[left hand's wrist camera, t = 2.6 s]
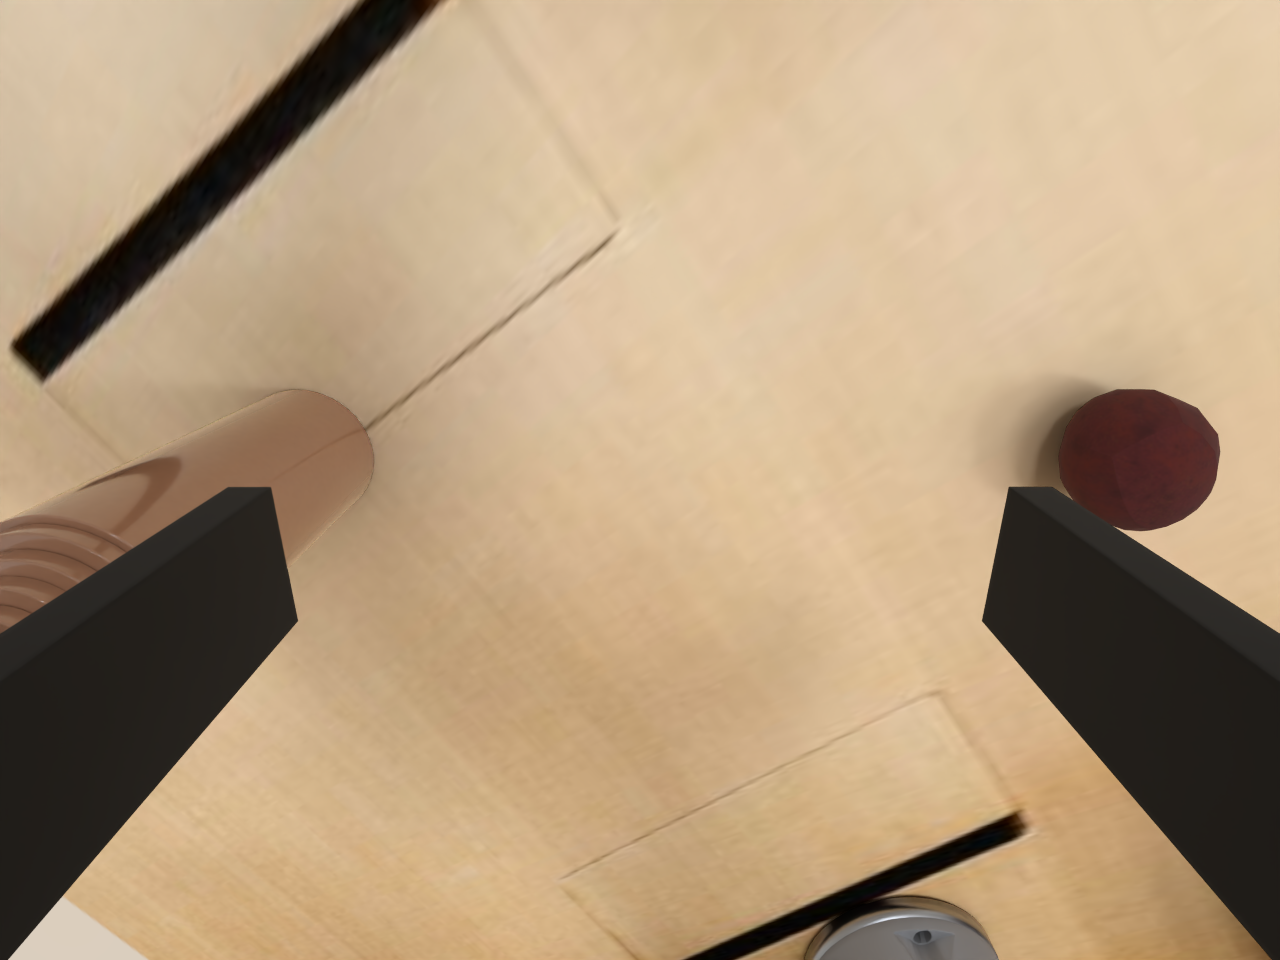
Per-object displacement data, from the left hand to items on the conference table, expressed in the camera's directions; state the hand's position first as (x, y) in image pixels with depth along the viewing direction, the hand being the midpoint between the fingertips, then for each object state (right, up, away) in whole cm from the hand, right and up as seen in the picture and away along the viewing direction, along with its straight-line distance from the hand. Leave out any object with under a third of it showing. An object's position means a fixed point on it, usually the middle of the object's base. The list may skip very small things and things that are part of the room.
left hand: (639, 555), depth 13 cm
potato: (+27, +4, +28) cm, 39 cm away
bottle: (-20, +3, +29) cm, 35 cm away
